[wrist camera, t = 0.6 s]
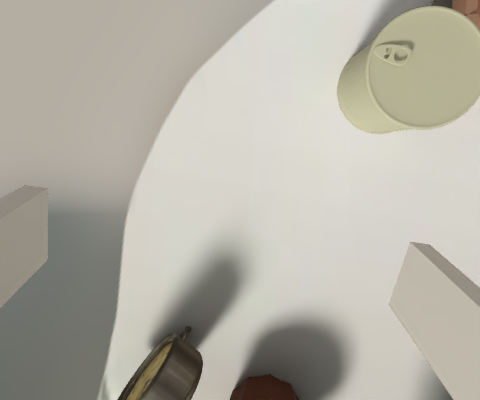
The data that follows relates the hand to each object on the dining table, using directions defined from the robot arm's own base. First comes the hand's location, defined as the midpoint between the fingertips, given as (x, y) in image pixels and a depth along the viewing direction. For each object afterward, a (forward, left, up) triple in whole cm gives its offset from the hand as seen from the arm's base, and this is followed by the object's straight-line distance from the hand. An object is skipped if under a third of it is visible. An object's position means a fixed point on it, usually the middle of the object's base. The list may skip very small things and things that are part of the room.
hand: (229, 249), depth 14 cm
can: (-7, -15, -29) cm, 33 cm away
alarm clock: (-2, +24, -29) cm, 38 cm away
